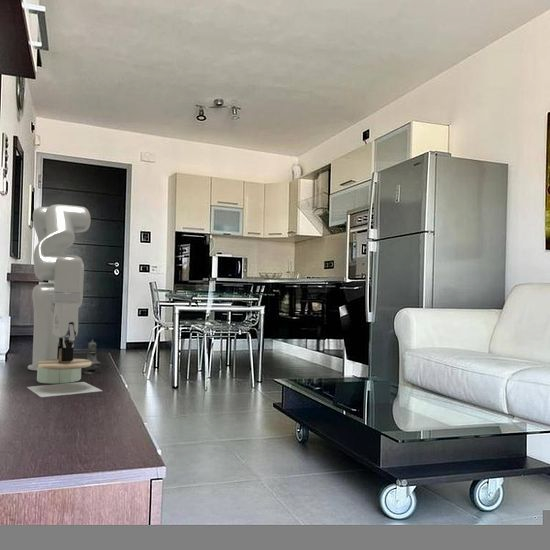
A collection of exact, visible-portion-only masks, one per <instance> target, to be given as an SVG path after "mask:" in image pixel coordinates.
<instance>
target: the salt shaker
mask: <svg viewBox="0 0 550 550" xmlns="http://www.w3.org/2000/svg"><path fill="white" fill-rule="evenodd" d="M97 346H98V345H97V343H96V342H95V341H94V339H91V341H90V342H88V343H87V351H86V353H87V358H86V360H90V361H91V362H92V364H91V366H89V367H85V368H84V369H85V371H83V374H86V375H93V374H94V375H95V374H99V373H100V371H98V370H97V369H99V368H100V364H101V362H100V361H99V360H98V359H97V354H98V351H97Z"/></svg>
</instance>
